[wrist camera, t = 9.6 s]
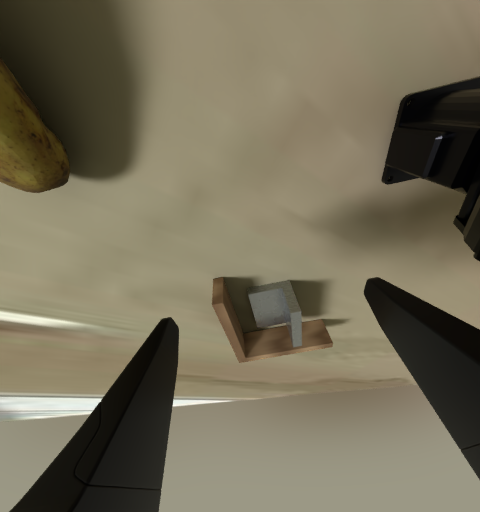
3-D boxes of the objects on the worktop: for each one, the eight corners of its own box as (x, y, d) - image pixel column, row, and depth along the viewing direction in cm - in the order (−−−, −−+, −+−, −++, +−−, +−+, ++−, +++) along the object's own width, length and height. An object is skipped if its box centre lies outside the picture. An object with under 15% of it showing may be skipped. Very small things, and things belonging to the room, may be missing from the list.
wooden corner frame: (328, 255, 23) (344, 279, 20) (321, 323, 32) (332, 346, 29) (213, 278, 24) (212, 305, 21) (237, 338, 33) (239, 362, 30)
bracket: (291, 314, 30) (301, 345, 27) (256, 321, 31) (261, 352, 27) (288, 279, 26) (301, 311, 22) (247, 287, 26) (251, 320, 22)
